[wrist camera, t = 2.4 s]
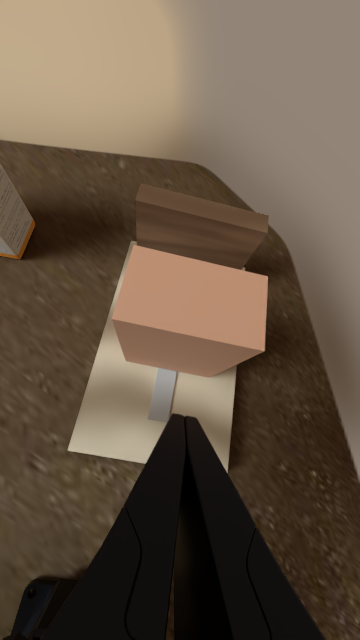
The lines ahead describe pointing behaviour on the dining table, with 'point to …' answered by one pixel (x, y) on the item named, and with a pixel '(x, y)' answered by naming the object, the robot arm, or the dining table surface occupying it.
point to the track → (156, 383)
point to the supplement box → (13, 220)
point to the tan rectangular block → (189, 313)
